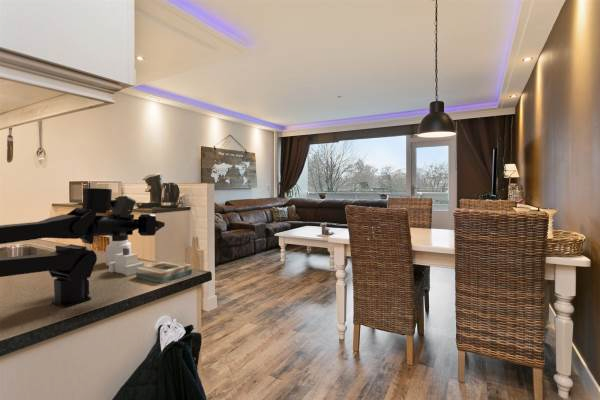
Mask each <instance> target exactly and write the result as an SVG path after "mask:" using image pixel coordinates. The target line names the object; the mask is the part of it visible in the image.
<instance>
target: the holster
mask: <svg viewBox="0 0 600 400" xmlns="http://www.w3.org/2000/svg"><path fill="white" fill-rule="evenodd" d="M142 266H145V263H144V262H137V263H136V264H132V265H128V266H124V271H125V274H124V276H126V277H128V276H132V275H136V268H138V267H142ZM114 272H115V262H111V263H109V266H108V273H114ZM115 273H116V272H115Z"/></svg>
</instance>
